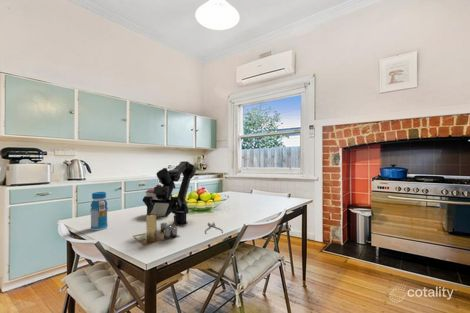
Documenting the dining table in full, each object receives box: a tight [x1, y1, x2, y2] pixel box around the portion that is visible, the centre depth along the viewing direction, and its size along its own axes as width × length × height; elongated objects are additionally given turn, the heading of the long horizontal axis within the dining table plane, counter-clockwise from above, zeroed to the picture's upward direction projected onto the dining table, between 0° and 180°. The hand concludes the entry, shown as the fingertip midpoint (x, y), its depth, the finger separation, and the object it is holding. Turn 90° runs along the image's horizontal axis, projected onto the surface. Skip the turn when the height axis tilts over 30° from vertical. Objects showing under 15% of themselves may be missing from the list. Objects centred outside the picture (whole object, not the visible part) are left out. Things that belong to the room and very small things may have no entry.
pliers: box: [204, 221, 224, 235], centre depth 129 cm, size 10×1×20 cm
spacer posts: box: [160, 222, 178, 241], centre depth 116 cm, size 9×16×4 cm, turn 40°
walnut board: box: [132, 229, 181, 247], centre depth 113 cm, size 18×17×1 cm
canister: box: [144, 183, 171, 218], centre depth 159 cm, size 18×18×21 cm
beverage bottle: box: [89, 191, 109, 231], centre depth 130 cm, size 8×8×20 cm
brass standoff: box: [145, 214, 158, 244], centre depth 107 cm, size 4×4×12 cm
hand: (156, 216), depth 111 cm, fingers open, 9 cm apart
